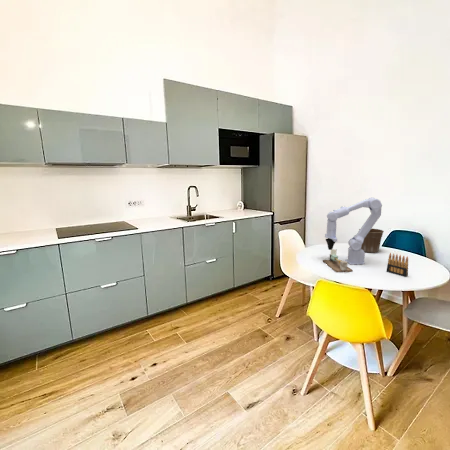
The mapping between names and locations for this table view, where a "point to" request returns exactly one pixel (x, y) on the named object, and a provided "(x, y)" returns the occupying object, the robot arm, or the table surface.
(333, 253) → the green sliding block
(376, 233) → the plant pot
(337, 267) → the brown plate
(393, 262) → the ammunition clip
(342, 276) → the table surface
